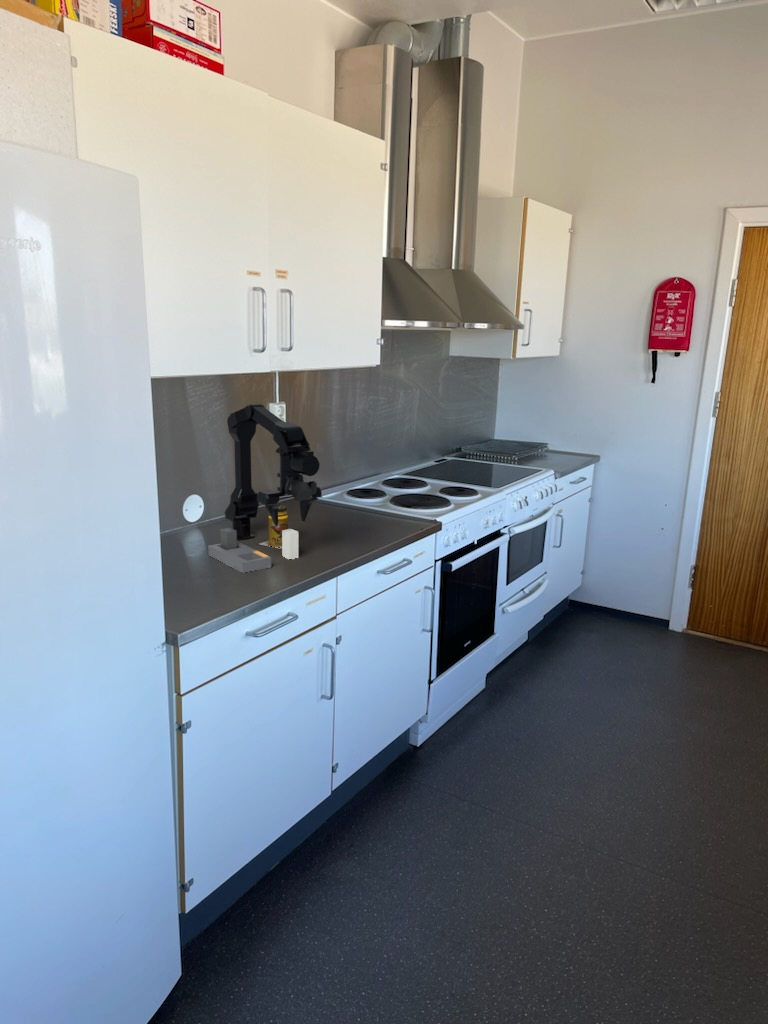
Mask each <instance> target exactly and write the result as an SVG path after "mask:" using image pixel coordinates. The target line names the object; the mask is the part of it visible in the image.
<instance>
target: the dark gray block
mask: <svg viewBox="0 0 768 1024" xmlns="http://www.w3.org/2000/svg"><path fill="white" fill-rule="evenodd" d="M219 532H220V543H221V548H222V549H225V550H230V549H236V548H237V541H238V540H237V532H236V530H234V529H232V527H226V528H225V527H224V528H220V531H219Z"/></svg>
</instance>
